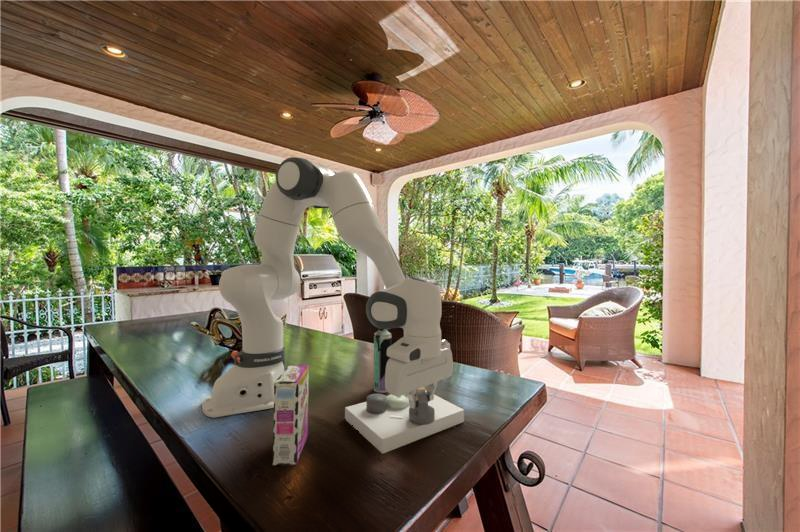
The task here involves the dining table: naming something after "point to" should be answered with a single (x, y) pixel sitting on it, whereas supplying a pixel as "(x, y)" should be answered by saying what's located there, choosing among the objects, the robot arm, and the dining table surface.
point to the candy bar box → (290, 415)
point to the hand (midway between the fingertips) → (421, 403)
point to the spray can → (381, 358)
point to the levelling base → (398, 420)
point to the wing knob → (422, 410)
